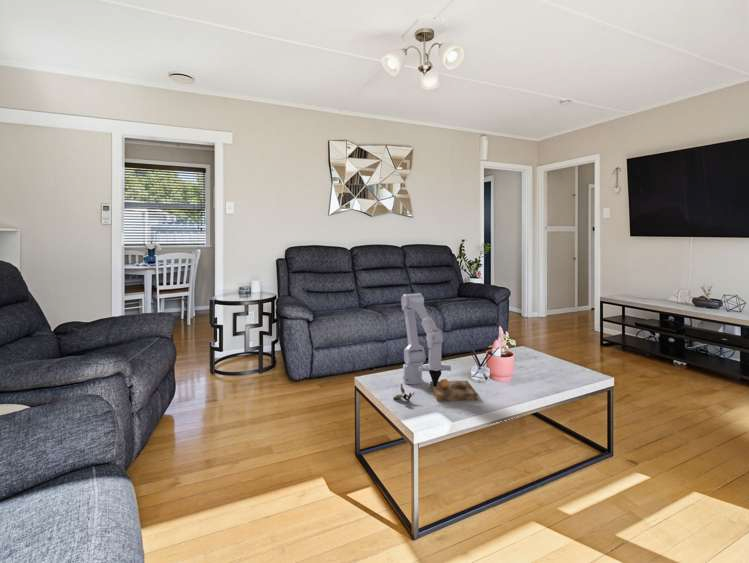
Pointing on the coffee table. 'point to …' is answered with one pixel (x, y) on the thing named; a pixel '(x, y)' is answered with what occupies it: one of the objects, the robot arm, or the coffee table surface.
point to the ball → (444, 383)
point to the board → (454, 391)
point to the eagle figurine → (403, 395)
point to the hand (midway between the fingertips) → (434, 386)
